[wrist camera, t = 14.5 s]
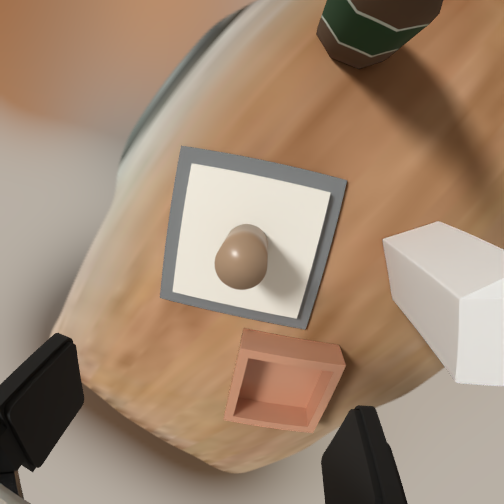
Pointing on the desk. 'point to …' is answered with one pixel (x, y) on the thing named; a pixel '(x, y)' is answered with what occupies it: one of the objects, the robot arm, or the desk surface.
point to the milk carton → (452, 297)
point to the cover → (248, 240)
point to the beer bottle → (372, 27)
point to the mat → (264, 170)
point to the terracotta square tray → (282, 381)
